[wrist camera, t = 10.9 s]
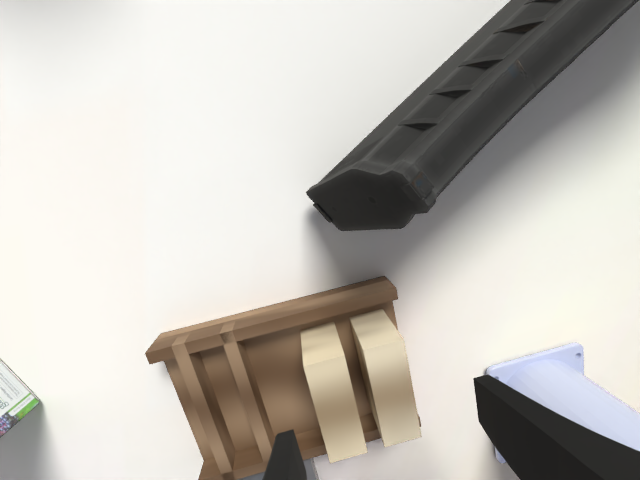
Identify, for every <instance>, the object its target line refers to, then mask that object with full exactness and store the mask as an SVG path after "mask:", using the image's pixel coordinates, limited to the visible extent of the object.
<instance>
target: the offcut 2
mask: <svg viewBox="0 0 640 480" xmlns="http://www.w3.org/2000/svg"><path fill="white" fill-rule="evenodd" d="M349 319H350V323H351V327H352V332H353V336H354V341H355V345H356V349H357V354H358V358H359V363H360V367H361V372H362V376H363V380H364V385H365V389H366V394H367V398H368V402H369V405H370V407H371V410H372V413H373V416H374V419H375V421H376V424H377V427H378V430H379V433H380V435H381V438H382V441H383V444H384V447H388V446H392V445H395V444H399V443H402V442H406V441H409V440H413V439H416V438H420V437H422V436H421V431H420V425H419V420H418V414H417V409H416V403H415V398H414V392H413V387H412V381H411V376H410V370H409V365H408V359H407V354H406V348H405V343H404V339H403V337H402V336H401V334H400V333H399V332H398V330H397V329H396V327H395V326H394V325H393V323H392V322H391V320H390V319H389V317H388V316H387V315H386V313H385V312H384V310H383V309H379V310H376V311H372V312H368V313H364V314H360V315H357V316H353V317H349Z"/></svg>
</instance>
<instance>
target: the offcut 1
mask: <svg viewBox="0 0 640 480" xmlns="http://www.w3.org/2000/svg"><path fill="white" fill-rule="evenodd" d="M300 333H301V345H302V357H303V367H304V371H305V374H306V378H307V382H308V385H309V389H310V392H311V396H312V400H313V403H314V407H315V410H316V414H317V418H318V421H319V425H320V428H321V432H322V436H323V439H324V443H325V446H326V450H327V454H328V457H329V461H330V463H333V462H337V461H340V460H343V459H347V458H350V457H354V456H357V455H361V454H364V453H368V451H367V447H366V443H365V439H364V435H363V430H362V426H361V422H360V418H359V414H358V409H357V405H356V401H355V397H354V393H353V388H352V384H351V380H350V376H349V372H348V367H347V363H346V359H345V355H344V352H343V349H342V345H341V342H340V339H339V336H338V333H337V330H336V326H335V323H334V322H330V323H326V324H323V325H319V326H315V327H311V328H307V329H304V330H300Z"/></svg>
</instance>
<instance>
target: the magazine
mask: <svg viewBox="0 0 640 480" xmlns="http://www.w3.org/2000/svg"><path fill="white" fill-rule="evenodd" d="M637 1H639V0H511V1H510V2H509V3H507V4H506V5H505V6H504V7H503V8H502V9H501V10H500V11H499V12H498V13H497V14H496V15H495V16H493V17H492V18H491V19H490V20H489V21H488V22H487V23H486V24H485V25H484V26H483V27H482V28H481V29H480V30H479V31H477V32H476V33H475V34H474V35H473V36H472V37H471V38H470V39H469V40H468V41H467V42H466V43H465V44H464V45H463V46H461V47H460V48H459V49H458V50H457V51H456V52H455V53H454V54H453V55H452V56H451V57H450V58H449V59H448V60H447V61H446V62H444V63H443V64H442V65H441V66H440V67H439V68H438V69H437V70H436V71H435V72H434V73H433V74H432V75H431V76H430V77H429V78H428V79H426V80H425V81H424V82H423V83H422V84H421V85H420V86H419V87H418V88H417V89H416V90H415V91H414V92H413V93H412V94H411V95H410V96H409V97H408V98H407V99H405V100H404V101H403V102H402V103H401V104H400V105H399V106H398V107H397V108H396V109H395V110H394V111H393V112H392V113H391V114H390V115H389V116H388V117H387V118H386V119H385V120H383V121H382V122H381V123H380V124H379V125H378V126H377V127H376V128H375V129H374V130H373V131H372V132H371V133H370V134H369V135H368V136H367V137H366V138H365V139H364V140H363V141H362V142H361V143H360V144H358V145H357V146H356V147H355V148H354V149H353V150H352V151H351V152H350V153H349V154H348V155H347V156H346V157H345V158H344V159H343V160H342V161H341V162H340V163H339V164H338V165H337V166H336V167H334V168H333V169H332V170H331V171H330V172H329V173H328V174H327V175H326V176H325V177H324V178H323V179H322V180H321V181H320V182H319V183H318V184H316V185H314V186H312V187H311V188H310V189H309V190H308V191H307V192H306V193H307V195H308V196H309V198H310V199H311V200H312V201H313V202H314V204H313V206H314V207H315V208H316V209H317V210H318V211H319V212H320V213H321V214H322V215H323V216H324V217H325V219H326V220H327V221H328V222H332V223H333V224H334V225H335V226H336V227H337V228H338V229H339V230H341V231H352V230H377V229H401V228H403V227H405V226H406V225H407V224H408V223H409V222H410V220H411V219H412V218H413V216H414V215H415V214H420V213H427V212H428V211H429V210H430V208H431V207H432V206H433V205H434V204H435V202H436V199H437V197H438V195H439V194H440V193H441V192H442V191H443V190H444V189H445V188H446V187H447V186H448V185H449V183H450V182H451V181H452V180H453V179H454V178H455V177H456V176H457V175H458V174H459V172H460V171H461V170H462V169H463V168H464V167H465V166H466V165H467V164H468V163H469V162H470V161H471V160H472V159H473V157H474V156H475V155H476V154H477V153H478V152H479V151H480V150H481V149H482V148H483V147H484V146H485V145H486V144H487V143H488V142H489V141H490V140H491V139H492V138H493V137H494V136H495V135H496V134H497V133H498V132H499V131H500V130H501V129H502V128H503V127H504V126H505V125H506V124H507V123H508V122H509V121H510V120H511V119H512V118H513V117H514V116H515V115H516V114H517V113H518V112H519V111H520V110H521V109H522V108H523V107H524V106H525V105H526V104H527V103H529V102H530V101H531V100H532V99H533V98H534V97H535V96H536V95H537V94H538V93H539V92H540V91H541V90H542V89H543V88H544V87H545V86H546V85H548V84H549V83H550V82H551V81H552V80H553V79H554V78H555V77H556V76H557V75H558V74H560V73H561V72H562V71H563V70H564V69H565V68H566V67H567V66H569V65H570V64H571V63H572V62H573V61H574V60H575V59H576V58H577V57H578V56H579V55H580V54H581V53H582V52H583V51H584V50H585V49H587V48H588V47H589V46H590V45H591V44H592V43H593V42H594V41H595V40H596V39H597V38H598V37H600V36H601V35H602V34H603V33H604V32H605V31H606V30H607V29H608V28H609V27H610V26H611V25H612V24H613V23H614V22H616V21H617V20H618V19H619V18H620V17H621V16H622V15H623V14H624V13H625V12H626V11H627V10H628V9H630V8H631V7H632V6H633V5H634V4H635V3H636V2H637Z"/></svg>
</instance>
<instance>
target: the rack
mask: <svg viewBox="0 0 640 480" xmlns="http://www.w3.org/2000/svg"><path fill="white" fill-rule="evenodd" d="M396 299H398V296H397V290H396V287H395V286H394V285H393V284H392V283H391V282H390V281H389V280H388V279H387V278H386V277H385V276H382V277H378V278H374V279H371V280H367V281H363V282H359V283H355V284H351V285H347V286H344V287H340V288H336V289H332V290H328V291H324V292H320V293H316V294H313V295H309V296H305V297H301V298H297V299H293V300H289V301H285V302H282V303H278V304H274V305H270V306H266V307H262V308H258V309H254V310H251V311H247V312H243V313H239V314H235V315H231V316H227V317H223V318H220V319H216V320H212V321H208V322H204V323H200V324H196V325H192V326H189V327H185V328H181V329H177V330H173V331H169V332H165V333H161V334H160V335H159V336H158V338H157V339H156V340H155V341H154V343H153V344H152V345H151V346H150V348H149V349H148V350H147V351H146V353H145V354H146V357H147V359H148V362H149V364H153V363H157V362H161V361H164V362H165V365H166V367H167V370H168V372H169V375H170V377H171V380H172V382H173V385H174V387H175V390H176V392H177V395H178V397H179V400H180V402H181V405H182V407H183V410H184V412H185V415H186V417H187V420H188V422H189V425H190V427H191V430H192V432H193V435H194V437H195V439H196V442H197V444H198V447H199V449H200V452H201V454H202V457H203V459H204V462H203V466H202V469H201V473H200V476H199V479H198V480H237V479H240V478H244V477H247V476H251V475H254V474H258V473H261V472H265V470H266V467H267V464H268V461H269V458H270V455H271V452H272V448H273V445H274V441H275V437H276V435H277V434H278V433H282V432H285V431H289V430H292V429H294V433H295V436H296V439H297V443H298V446H299V449H300V452H301V456H302V459H303V460H306V459H310V458H313V457H317V456H320V455H324V454H327V450H326V446H325V443H324V439H323V436H322V432H321V428H320V425H319V421H318V418H317V414H316V410H315V407H314V403H313V400H312V396H311V392H310V389H309V385H308V382H307V378H306V374H305V371H304V367H303V357H302V345H301V333H300V330H304V329H307V328H311V327H315V326H319V325H323V324H326V323H330V322H334V323H335V326H336V330H337V333H338V336H339V339H340V342H341V345H342V349H343V352H344V355H345V359H346V363H347V367H348V372H349V376H350V380H351V384H352V388H353V393H354V397H355V401H356V405H357V409H358V414H359V418H360V422H361V426H362V430H363V435H364V439H365V442H369V441H372V440H376V439H379V438H381V435H380V433H379V430H378V427H377V424H376V421H375V419H374V416H373V413H372V410H371V407H370V405H369V402H368V398H367V394H366V389H365V385H364V380H363V376H362V372H361V367H360V363H359V358H358V354H357V349H356V345H355V341H354V336H353V332H352V327H351V323H350V319H349V317H353V316H357V315H360V314H364V313H368V312H372V311H376V310H379V309H383V310H384V312H385V313H386V315H387V316H388V317H389V319H390V320H391V322H392V323H393V325H394V326H395V327H396V329H397V323H396V318H395V312H394V307H393V302H392V301H393V300H396ZM397 330H398V329H397ZM418 420H419V425H420V427H421V423H420V417H419V416H418Z"/></svg>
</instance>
